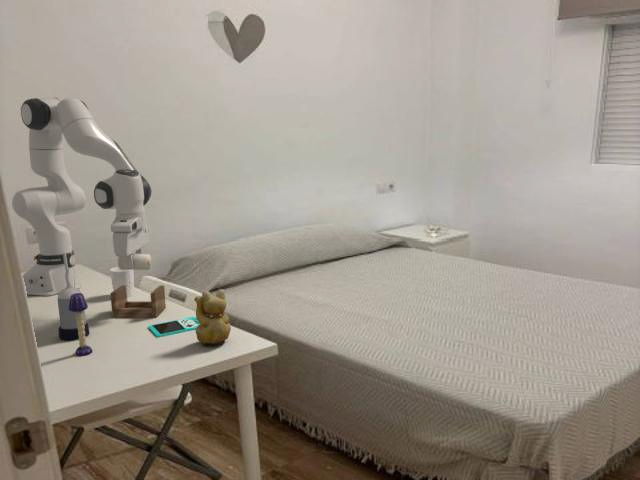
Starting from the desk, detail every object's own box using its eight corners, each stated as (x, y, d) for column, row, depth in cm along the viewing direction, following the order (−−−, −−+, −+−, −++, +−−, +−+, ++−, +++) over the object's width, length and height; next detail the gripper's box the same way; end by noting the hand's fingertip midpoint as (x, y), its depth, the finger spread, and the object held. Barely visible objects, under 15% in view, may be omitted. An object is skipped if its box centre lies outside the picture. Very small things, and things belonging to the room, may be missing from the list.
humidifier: (60, 333, 164) (50, 251, 159) (89, 329, 167) (81, 248, 162) (57, 342, 157) (47, 257, 152) (89, 338, 160) (80, 254, 155)
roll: (118, 272, 177) (116, 258, 174) (124, 265, 181) (122, 251, 179) (147, 272, 176) (145, 258, 174) (153, 265, 180) (150, 251, 178)
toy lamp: (93, 354, 148) (87, 295, 145) (74, 358, 146) (68, 297, 142) (91, 348, 152) (85, 290, 149) (72, 352, 150) (66, 293, 147)
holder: (112, 317, 177) (110, 293, 175) (123, 308, 186) (121, 285, 184) (156, 317, 176) (154, 293, 175) (165, 308, 185) (164, 285, 183)
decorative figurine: (226, 334, 161) (223, 285, 158) (236, 344, 154) (233, 292, 151) (193, 341, 156) (190, 290, 153) (202, 351, 149) (198, 298, 146)
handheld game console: (210, 328, 168) (209, 324, 167) (157, 339, 159) (157, 335, 159) (198, 318, 176) (198, 314, 176) (148, 329, 168) (147, 324, 167)
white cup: (120, 300, 195) (118, 272, 193) (108, 296, 200) (105, 269, 198) (140, 294, 201) (137, 268, 199) (127, 291, 206) (125, 265, 204)
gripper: (134, 215, 185) (137, 256, 188) (107, 227, 165) (111, 272, 168) (152, 216, 185) (155, 256, 188) (128, 227, 165) (132, 272, 168)
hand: (134, 263), depth 178 cm, fingers closed on roll, 5 cm apart
